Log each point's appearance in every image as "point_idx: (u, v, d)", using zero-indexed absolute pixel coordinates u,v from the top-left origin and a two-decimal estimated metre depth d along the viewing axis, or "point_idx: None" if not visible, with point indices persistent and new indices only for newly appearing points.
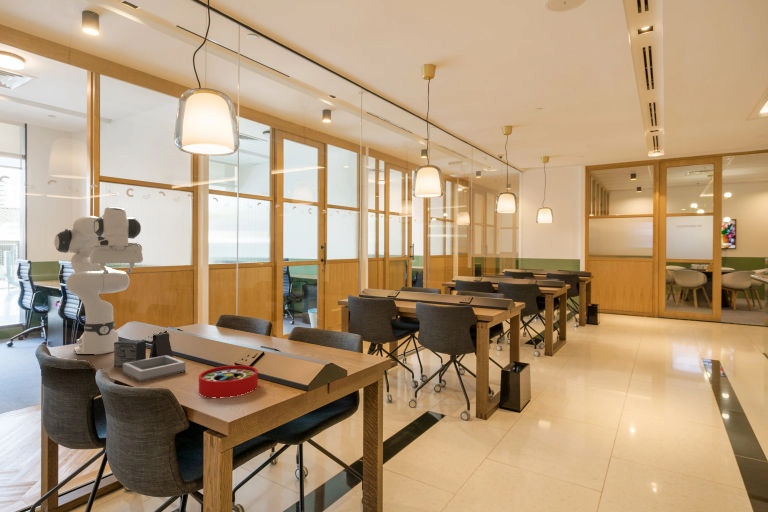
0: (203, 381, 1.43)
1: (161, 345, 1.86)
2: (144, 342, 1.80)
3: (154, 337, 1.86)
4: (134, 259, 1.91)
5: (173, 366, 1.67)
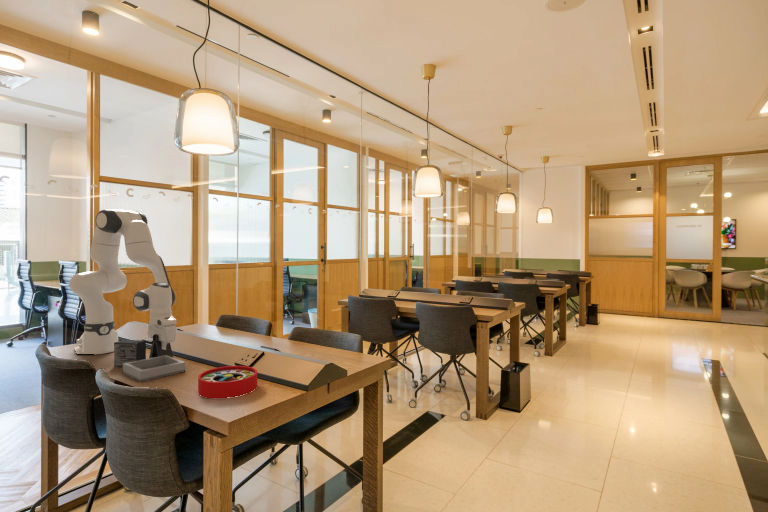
0: (203, 381, 1.42)
1: None
2: (144, 342, 1.80)
3: (154, 337, 1.86)
4: None
5: (173, 366, 1.67)
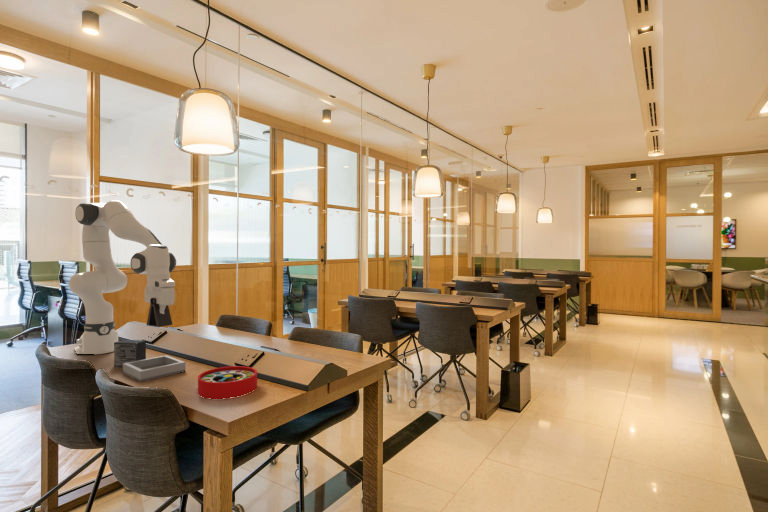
0: (203, 382, 1.42)
1: None
2: (144, 342, 1.80)
3: (152, 301, 1.77)
4: None
5: (173, 366, 1.67)
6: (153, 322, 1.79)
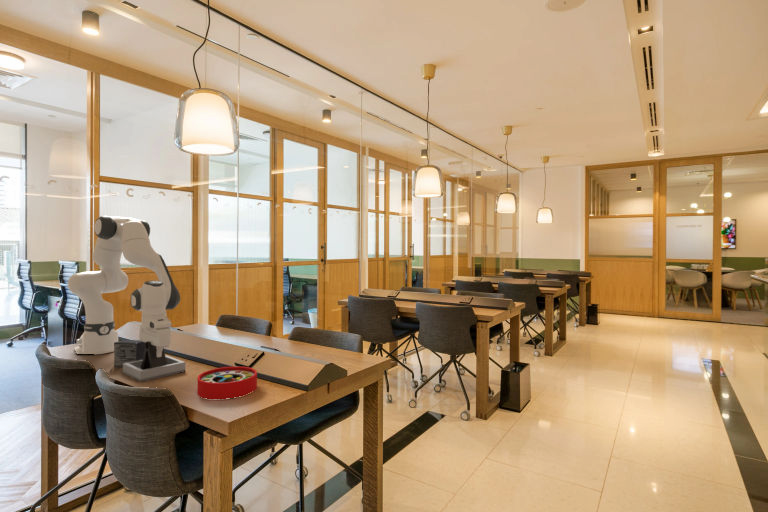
0: (202, 382, 1.41)
1: (154, 353, 1.67)
2: (144, 342, 1.80)
3: (146, 344, 1.68)
4: None
5: (173, 366, 1.67)
6: (147, 366, 1.70)
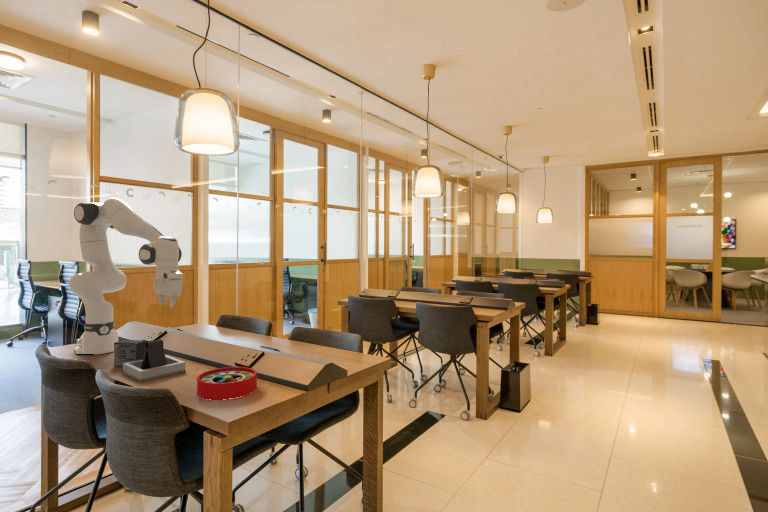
0: (202, 383, 1.41)
1: (154, 353, 1.67)
2: (144, 342, 1.80)
3: (146, 344, 1.68)
4: None
5: (173, 366, 1.67)
6: (147, 367, 1.70)
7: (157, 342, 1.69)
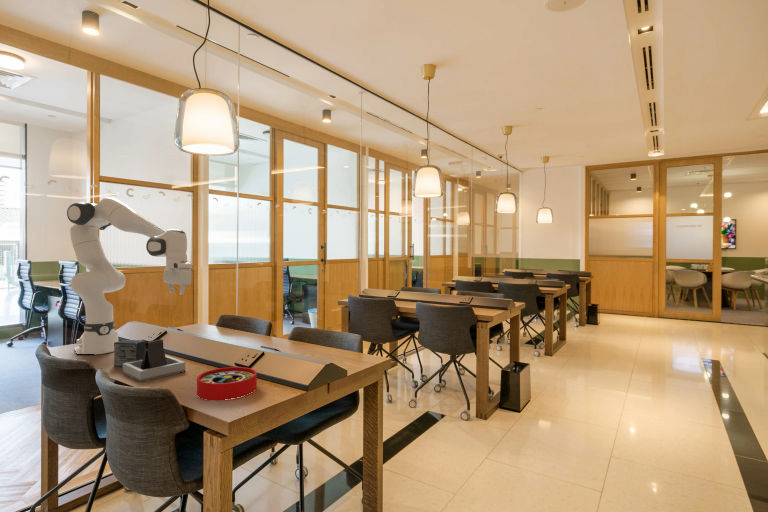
0: (202, 383, 1.41)
1: (154, 353, 1.67)
2: (144, 342, 1.80)
3: (146, 344, 1.68)
4: None
5: (173, 366, 1.67)
6: (147, 367, 1.70)
7: (157, 342, 1.69)
